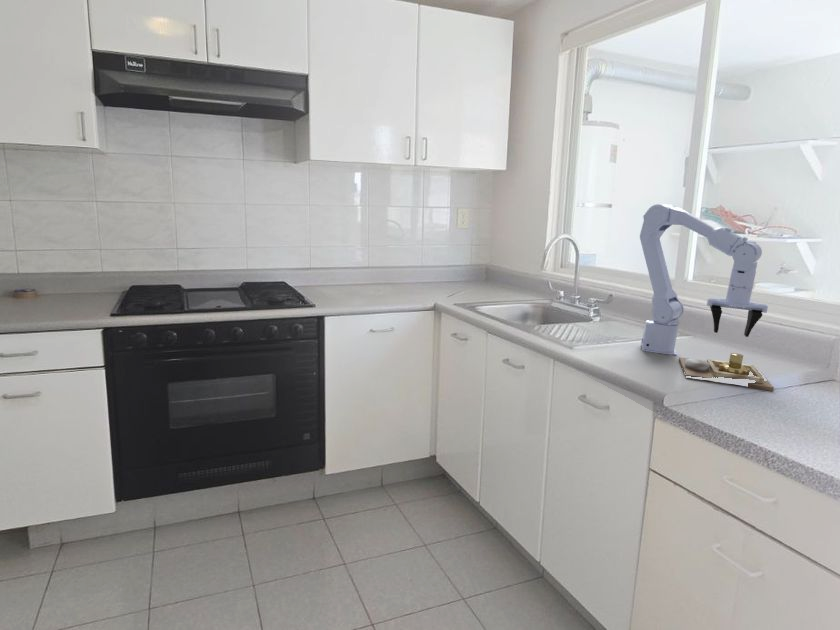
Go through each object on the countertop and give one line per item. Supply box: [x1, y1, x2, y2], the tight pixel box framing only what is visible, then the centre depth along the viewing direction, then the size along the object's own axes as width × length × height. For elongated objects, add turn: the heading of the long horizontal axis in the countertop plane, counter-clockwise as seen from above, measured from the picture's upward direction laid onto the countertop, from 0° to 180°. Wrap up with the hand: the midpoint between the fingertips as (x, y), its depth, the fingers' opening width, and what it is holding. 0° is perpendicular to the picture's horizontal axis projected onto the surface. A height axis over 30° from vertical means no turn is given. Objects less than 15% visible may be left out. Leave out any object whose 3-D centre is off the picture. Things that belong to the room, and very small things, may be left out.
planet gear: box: [718, 352, 750, 375], centre depth 147 cm, size 7×7×5 cm
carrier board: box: [678, 356, 774, 392], centre depth 148 cm, size 20×16×2 cm
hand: (730, 333), depth 154 cm, fingers open, 7 cm apart
